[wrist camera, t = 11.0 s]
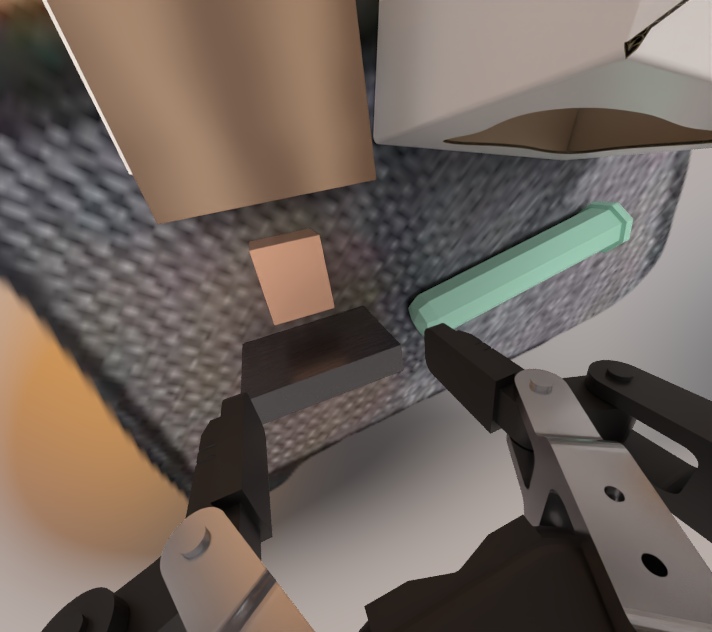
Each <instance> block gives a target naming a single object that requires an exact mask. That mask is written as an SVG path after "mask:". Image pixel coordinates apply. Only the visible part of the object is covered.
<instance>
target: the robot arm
mask: <svg viewBox="0 0 712 632" xmlns="http://www.w3.org/2000/svg"><path fill="white" fill-rule="evenodd" d="M424 341H425V359H426V363H427V366H428V368H429V370H430V372H431V373H432V374H433V375H434V376H435V377H436V378H437V379H438V380H439V381H440V382H441V383H442V384H443V385H444V386H445V388H446V389H447V390H448V391H450V393H451V394H452V395H453V396H454V397H455V398H456V399H457V400H458V401H459V402H460V403H461V404H462V405H463V406H464V407H465V408H466V409H467V410H468V411H469V412H470V413H471V414H472V415H473V416H474V417H475V418H476V419H477V420H478V421H479V422H480V423H481V424H482V425H483V426H484V428H486V430H487V431H489V433H493V432H495V431H497V430H499V429H501V428H502V429H503V430H504V431H505V432H506V433H507V436H506V441H507V444H508V448H509V451H510V454H511V458H512V462H513V465H514V468H515V471H516V475H517V479H518V482H519V485H520V489H521V492H522V496H523V502H524V515H522V516H520V517H518V518H516V519H515V520H513V521H511V522H509V523H508V524H506V525H504V526H503V527H501V528H499V529H497V530H496V531H494V532H492V533H491V534H489V535H488V536H487V537H486V538H485V539H484V541H483V542H482V543H481V544H480V546H479V547H478V548H477V549H476V551H475V552H474V553H473V554H472V555H471V557H470V558H469V559H468V560H467V562H466V563H465V564H464V565H463V567H462V568H461V569H460V570H459V571H457V572H455V573H450V574H445V575H439V576H434V577H428V578H423V579H417V580H411V581H407V582H406V583H404V584H402V585H400V586H399V587H397V588H395V589H393V590H392V591H390V592H388V593H387V594H385V595H383V596H381V597H380V598H378V599H376V600H375V601H373V602H371V603H369V604H367V605H366V606H365V610H366V614H367V617H368V621H367V622H366V623H365V625H364V626H363V627H362V628H361V629H360V630H359V632H712V572H711V570H710V569H709V567H708V566H707V565H706V563H705V561H704V560H703V559H702V557H701V556H700V554H699V553H698V552H697V550H696V548H695V547H694V546H693V544H692V543H691V541H690V540H689V538H688V537H687V535H686V534H685V532H684V531H683V530H682V528H681V527H680V525H679V524H678V522H677V521H676V520H675V518H674V517H673V515H675V516H676V517H678V518H679V519H680V520H681V521H683V522H684V523H685V524H687V525H688V526H690V527H691V528H692V529H694V530H695V531H696V532H698V533H699V534H700V535H702V536H703V537H704V538H706V539H707V540H708V541H710V542H711V543H712V401H710V400H707V399H705V398H703V397H701V396H699V395H696V394H694V393H692V392H690V391H688V390H685V389H683V388H681V387H679V386H676V385H674V384H672V383H670V382H668V381H665V380H663V379H661V378H659V377H656V376H654V375H652V374H650V373H647V372H645V371H643V370H641V369H638V368H636V367H634V366H632V365H629V364H626V363H622V362H618V361H611V360H601V361H596V362H593V363H592V364H591V365H590V366H589V369H588V372H587V375H586V376H578V377H569V378H561V377H559V376H557V375H556V374H553V373H551V372H548V371H545V370H540V369H527V370H524V369H523V368H521V367H520V366H518V365H517V364H515V363H514V362H512V361H511V360H509V359H508V358H506V357H505V356H503V355H502V354H500V353H499V352H497V351H496V350H494V349H491V347H490V346H488V345H487V344H485V343H483V342H482V341H481V340H479V339H478V338H476V337H475V336H473V335H472V334H469V333H466V332H463V331H460V330H458V331H455V330H454V329H452V328H451V327H449V326H448V325H446V324H445V323H441V324H438V325H435V326H432V327H429V328H427V329H425V331H424ZM636 420H639V421H641V422H642V423H644V424H646V425H647V426H649V427H651V428H653V429H655V430H656V431H658V432H660V433H661V434H663V435H665V436H667V437H668V438H670V439H672V440H673V441H675V442H677V443H679V444H681V445H682V446H684V447H685V448H687V449H688V450H689V451H690V452H692V453H693V455H694V456H695V457H696V459H697V461H698V468H696V467H693V466H691V465H689V464H688V463H686V462H684V461H683V460H681V459H680V458H678V457H676V456H675V455H673V454H671V453H670V452H668V451H666V450H665V449H663V448H662V447H660V446H658V445H657V444H655V443H653V442H652V441H650V440H648V439H647V438H645V437H644V436H642V435H640V434H639V433H637V432H635V431H634V430H632V428H633V426H634V424H635V421H636ZM671 513H672V514H673V515H672V514H671ZM271 537H272V525H271V510H270V496H269V480H268V465H267V450H266V437H265V432H264V428H263V425H262V422H261V420H260V418H259V416H258V414H257V412H256V410H255V408H254V405H253V403H252V401H251V399H250V397H249V395H248V394H247V393H246V392H244V393H241V394H238V395H236V396H233V397H230V398H227V399H224V400H223V402H222V408H221V417H219V418H216V419H213V420H210V422H209V424H208V425H207V427H206V429H205V430H204V432H203V434H202V435H201V441H200V446H199V453H198V456H197V465H196V467H195V472H194V478H193V483H192V488H191V493H190V499H189V504H188V510H187V514H186V518H185V520H184V521H182V522H181V524H180V525H179V526H178V527H177V528H176V529H175V530H174V532H173V533H172V534H171V536H170V537H169V539H168V541H167V543H166V544H165V547H164V549H163V552H162V555H161V556H160V557H159V558H158V559H157V560H156V561H155V562H154V563H153V564H151V565H150V566H149V567H147V568H146V569H145V570H144V571H142V572H141V573H140V574H138V575H137V576H136V577H135V578H133V579H132V580H131V581H129V582H128V583H127V584H125V585H124V586H123V587H122V588H120V589H119V590H118V591H116V592H115V593H113V592H112V591H110V590H108V589H107V588H102V587H100V588H95V589H91V590H89V591H87V592H85V593H83V594H81V595H80V596H78V597H76V598H75V599H74V600H72V601H71V602H70V603H68V604H67V605H66V606H65V607H64V608H63V609H62V610H60V611H59V612H58V613H57V614H56V615H55V616H54V617H53V618H52V620H51V621H50V622H49V623H48V624H47V626H46V627H45V628H44V629H43V630H42V632H315V631H314V630H313V628H312V627H311V626H310V625H309V623H308V622H307V621H306V619H305V618H304V617H303V615H302V614H301V613H300V611H299V610H298V609H297V607H296V606H295V605H294V603H292V601H291V600H290V598H289V597H288V596H287V594H286V593H285V592H284V590H283V589H282V588H281V586H280V585H279V584H278V583H277V581H276V580H275V579H274V577H273V576H272V575H271V574H270V573H269V571H268V570H267V568H266V567H265V566H264V565H263V563H262V562H261V542H263V541H265V540H267V539H269V538H271Z"/></svg>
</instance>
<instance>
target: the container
mask: <svg viewBox="0 0 712 632" xmlns="http://www.w3.org/2000/svg"><path fill="white" fill-rule="evenodd" d="M632 222H633V218H632V217H631V216H630V215H629V214H628V213H627V212H626V211H625V209H624V208H623V207H622V206H621V205H620V204H619V203H618V202H601V201H595V202H593V203H591V204H589V205H588V206H586V207H585V208H584V209H583V210H581V211H580V212H579V213H578V214H577V215H576V216H574V217H572V218H570V219H568V220H566V221H564V222H562V223H560V224H558V225H556V226H554V227H552V228H550V229H548V230H546V231H544V232H542V233H540V234H538V235H536V236H534V237H532V238H530V239H528V240H526V241H524V242H522V243H520V244H518V245H516V246H514V247H512V248H510V249H508V250H506V251H504V252H502V253H500V254H498V255H496V256H494V257H492V258H490V259H488V260H487V261H485V262H483V263H481V264H479V265H477V266H475V267H473V268H471V269H469V270H467V271H465V272H463V273H461V274H459V275H457V276H455V277H453V278H451V279H449V280H447V281H445V282H443V283H441V284H439V285H437V286H435V287H433V288H431V289H429V290H427V291H425V292H423V293H421V294H419V295H418V296H417V297H416V298H415V299H414V301H413V302H412V303H411V305H410V306H409V308H408V309H409V313H410V316H411V320H412V321H413V323H414V325H415V326H416V328H417V330H418V332H419V333H421V334H422V335H423V336H424V331H425V329H427V328H429V327H432V326H435V325H438V324H441V323H445V324H446V325H448V326H449V327H451V328H452V329H454V328H456V327H458V326H460V325H462V324H464V323H466V322H468V321H470V320H471V319H473V318H475V317H477V316H479V315H481V314H483V313H485V312H486V311H488V310H490V309H492V308H494V307H496V306H498V305H500V304H502V303H503V302H505V301H507V300H509V299H511V298H513V297H515V296H517V295H518V294H520V293H522V292H524V291H526V290H528V289H530V288H532V287H534V286H535V285H537V284H539V283H541V282H543V281H545V280H547V279H549V278H550V277H552V276H554V275H556V274H558V273H560V272H562V271H564V270H565V269H567V268H569V267H571V266H573V265H575V264H577V263H579V262H581V261H582V260H584V259H586V258H588V257H590V256H592V255H594V254H596V253H597V252H603V253H606V252H607V251H609V250H611V249H613V248H615V247H616V246H618V245H620V244H622V243H624V242H625V241H627V240H629V238H630V232H631V227H632Z"/></svg>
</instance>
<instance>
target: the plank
mask: <svg viewBox="0 0 712 632" xmlns="http://www.w3.org/2000/svg"><path fill="white" fill-rule="evenodd" d="M47 2H48V4H49V6H50V8H51V10H52V12H53V14H54V16H55V18H56V20H57V22H58V24H59V26H60V28H61V30H62V32H63V34H64V37H65V39H66V41H67V43H68V45H69V47H70V49H71V51H72V53H73V55H74V57H75V59H76V61H77V63H78V65H79V67H80V69H81V71H82V73H83V75H84V77H85V79H86V81H87V83H88V85H89V87H90V89H91V91H92V93H93V95H94V97H95V99H96V101H97V103H98V105H99V107H100V109H101V111H102V113H103V115H104V117H105V119H106V121H107V123H108V125H109V127H110V129H111V132H112V134H113V136H114V138H115V140H116V142H117V144H118V146H119V148H120V150H121V152H122V154H123V156H124V158H125V160H126V162H127V164H128V166H129V168H130V170H131V172H132V174H133V176H134V178H135V180H136V182H137V184H138V186H139V188H140V190H141V192H142V194H143V196H144V198H145V200H146V202H147V204H148V206H149V208H150V210H151V212H152V214H153V216H154V218H155V220H156V222H157V224H162V223H167V222H172V221H177V220H182V219H187V218H191V217H196V216H201V215H206V214H211V213H216V212H221V211H226V210H230V209H235V208H240V207H245V206H250V205H255V204H260V203H265V202H269V201H274V200H279V199H284V198H289V197H294V196H299V195H304V194H308V193H313V192H318V191H323V190H328V189H333V188H338V187H343V186H348V185H352V184H357V183H362V182H367V181H372V180H376V172H375V164H374V155H373V147H372V138H371V130H370V121H369V113H368V104H367V96H366V87H365V78H364V70H363V61H362V53H361V44H360V36H359V27H358V19H357V10H356V2H355V0H47Z"/></svg>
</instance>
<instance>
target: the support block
mask: <svg viewBox="0 0 712 632" xmlns="http://www.w3.org/2000/svg"><path fill="white" fill-rule="evenodd" d="M249 252H250V255H251V257H252V260H253V263H254V266H255V269H256V272H257V275H258V278H259V281H260V284H261V287H262V290H263V293H264V296H265V299H266V302H267V305H268V308H269V311H270V314H271V317H272V319H273V322H274V325H278V324H281V323H285V322H288V321H292V320H295V319H298V318H302V317H305V316H309V315H312V314H315V313H319V312H322V311H326V310H329V309H333V308H335V307H334V302H333V297H332V293H331V288H330V283H329V278H328V274H327V269H326V264H325V259H324V255H323V250H322V245H321V240H320V236H319V234H317V233H316V232H314V231H313V230H311V229H310V228H309V229H305V230H300V231H296V232H291V233H286V234H282V235H277V236H273V237H268V238H263V239H259V240H254V241H250V242H249Z"/></svg>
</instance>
